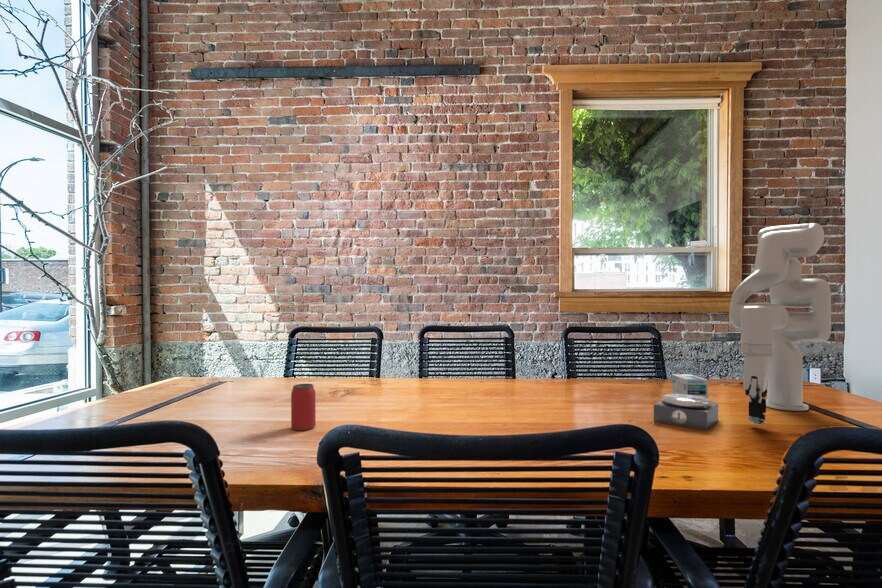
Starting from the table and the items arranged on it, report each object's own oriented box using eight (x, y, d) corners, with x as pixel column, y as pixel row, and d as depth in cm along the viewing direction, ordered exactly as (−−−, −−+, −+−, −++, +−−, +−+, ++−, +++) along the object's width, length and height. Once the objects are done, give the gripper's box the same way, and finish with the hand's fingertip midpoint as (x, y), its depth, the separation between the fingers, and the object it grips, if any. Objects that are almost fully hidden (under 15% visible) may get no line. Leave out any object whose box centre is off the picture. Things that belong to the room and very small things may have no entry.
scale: (667, 412, 149) (668, 396, 149) (718, 420, 140) (718, 403, 140) (653, 421, 138) (653, 404, 138) (706, 430, 129) (706, 412, 129)
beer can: (320, 427, 133) (320, 385, 133) (299, 433, 128) (298, 388, 128) (307, 423, 137) (307, 382, 137) (286, 428, 132) (286, 385, 132)
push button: (774, 426, 128) (774, 389, 127) (753, 425, 128) (752, 389, 128) (761, 419, 134) (760, 384, 134) (741, 419, 135) (740, 384, 135)
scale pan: (669, 395, 149) (669, 392, 149) (715, 402, 140) (715, 398, 140) (656, 403, 139) (656, 398, 139) (705, 410, 130) (705, 405, 130)
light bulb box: (708, 413, 148) (708, 379, 148) (687, 413, 148) (687, 379, 148) (691, 405, 159) (691, 373, 159) (671, 405, 159) (671, 373, 159)
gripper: (746, 345, 140) (746, 406, 141) (735, 352, 127) (736, 419, 128) (777, 347, 135) (777, 410, 136) (768, 354, 122) (769, 424, 123)
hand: (757, 413), depth 132 cm, fingers closed on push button, 5 cm apart
